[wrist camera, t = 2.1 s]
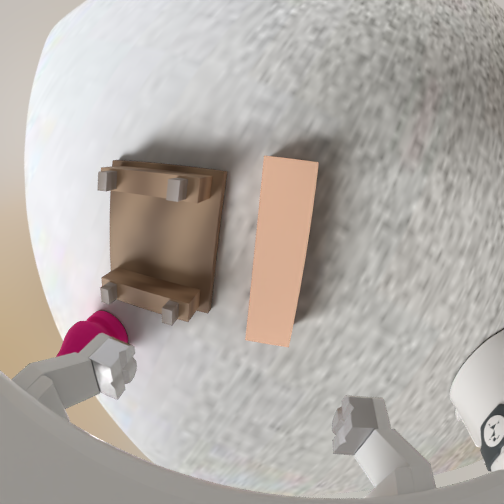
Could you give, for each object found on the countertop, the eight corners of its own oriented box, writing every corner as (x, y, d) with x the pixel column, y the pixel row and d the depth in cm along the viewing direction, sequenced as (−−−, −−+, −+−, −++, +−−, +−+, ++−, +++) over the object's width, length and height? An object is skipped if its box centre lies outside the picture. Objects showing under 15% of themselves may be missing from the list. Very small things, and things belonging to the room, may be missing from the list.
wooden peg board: (227, 171, 24) (206, 174, 19) (210, 308, 29) (192, 338, 24) (118, 159, 26) (83, 162, 21) (116, 281, 30) (88, 302, 25)
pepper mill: (92, 297, 32) (-18, 384, 14) (135, 326, 32) (33, 437, 13) (88, 333, 35) (0, 417, 16) (127, 360, 35) (46, 461, 16)
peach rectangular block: (316, 162, 23) (318, 162, 19) (291, 324, 28) (288, 347, 25) (270, 156, 24) (264, 155, 20) (253, 317, 29) (245, 339, 25)
